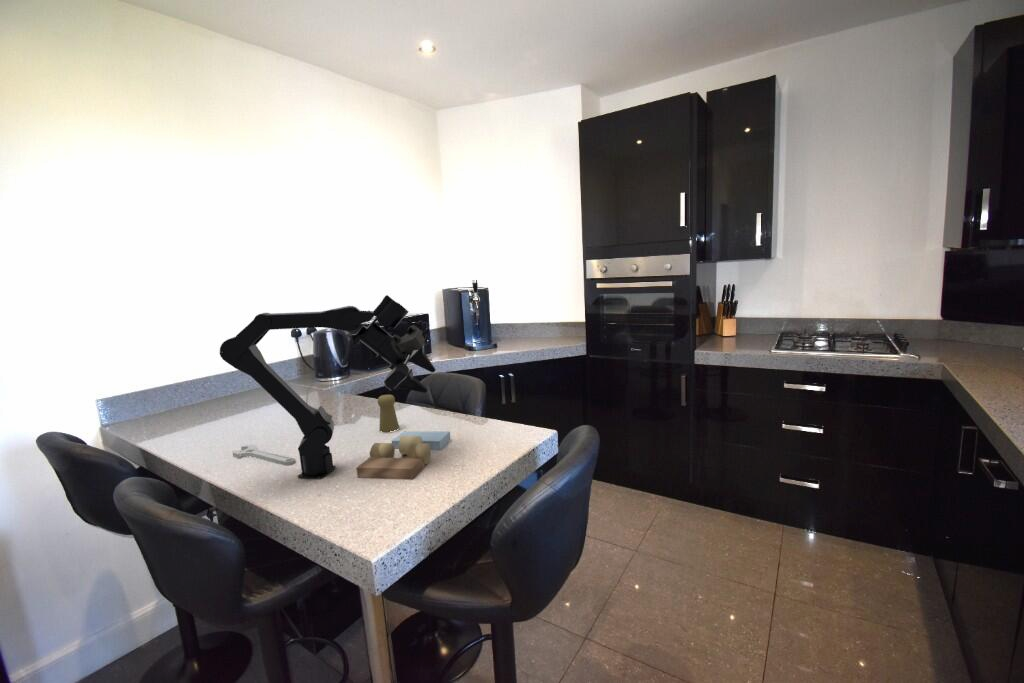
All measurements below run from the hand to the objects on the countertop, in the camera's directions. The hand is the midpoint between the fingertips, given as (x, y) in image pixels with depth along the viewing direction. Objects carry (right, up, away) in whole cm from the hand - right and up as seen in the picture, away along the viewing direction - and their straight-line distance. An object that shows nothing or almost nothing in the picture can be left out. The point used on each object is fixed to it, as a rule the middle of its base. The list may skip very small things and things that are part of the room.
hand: (430, 381), depth 118 cm
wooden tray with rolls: (-7, -21, -6) cm, 23 cm away
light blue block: (-5, -19, +7) cm, 21 cm away
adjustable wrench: (-47, -22, +7) cm, 53 cm away
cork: (-17, -18, +24) cm, 35 cm away
